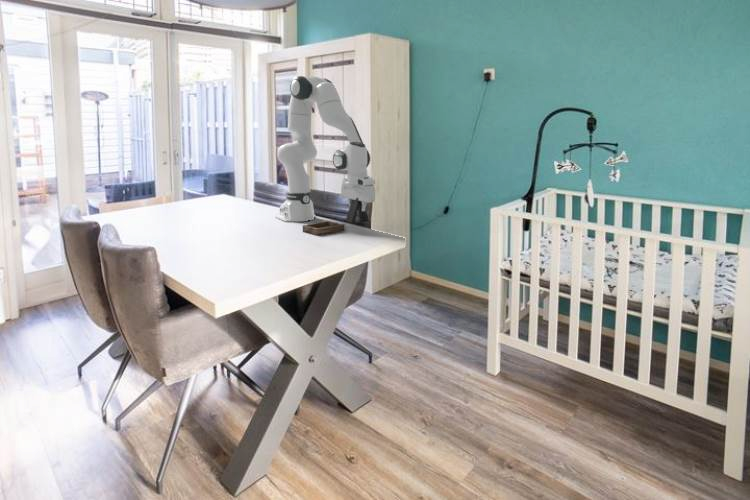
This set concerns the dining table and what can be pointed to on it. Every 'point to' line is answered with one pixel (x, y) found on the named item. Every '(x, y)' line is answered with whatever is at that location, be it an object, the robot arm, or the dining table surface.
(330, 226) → the walnut tray
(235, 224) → the dining table surface
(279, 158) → the robot arm
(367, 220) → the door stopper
